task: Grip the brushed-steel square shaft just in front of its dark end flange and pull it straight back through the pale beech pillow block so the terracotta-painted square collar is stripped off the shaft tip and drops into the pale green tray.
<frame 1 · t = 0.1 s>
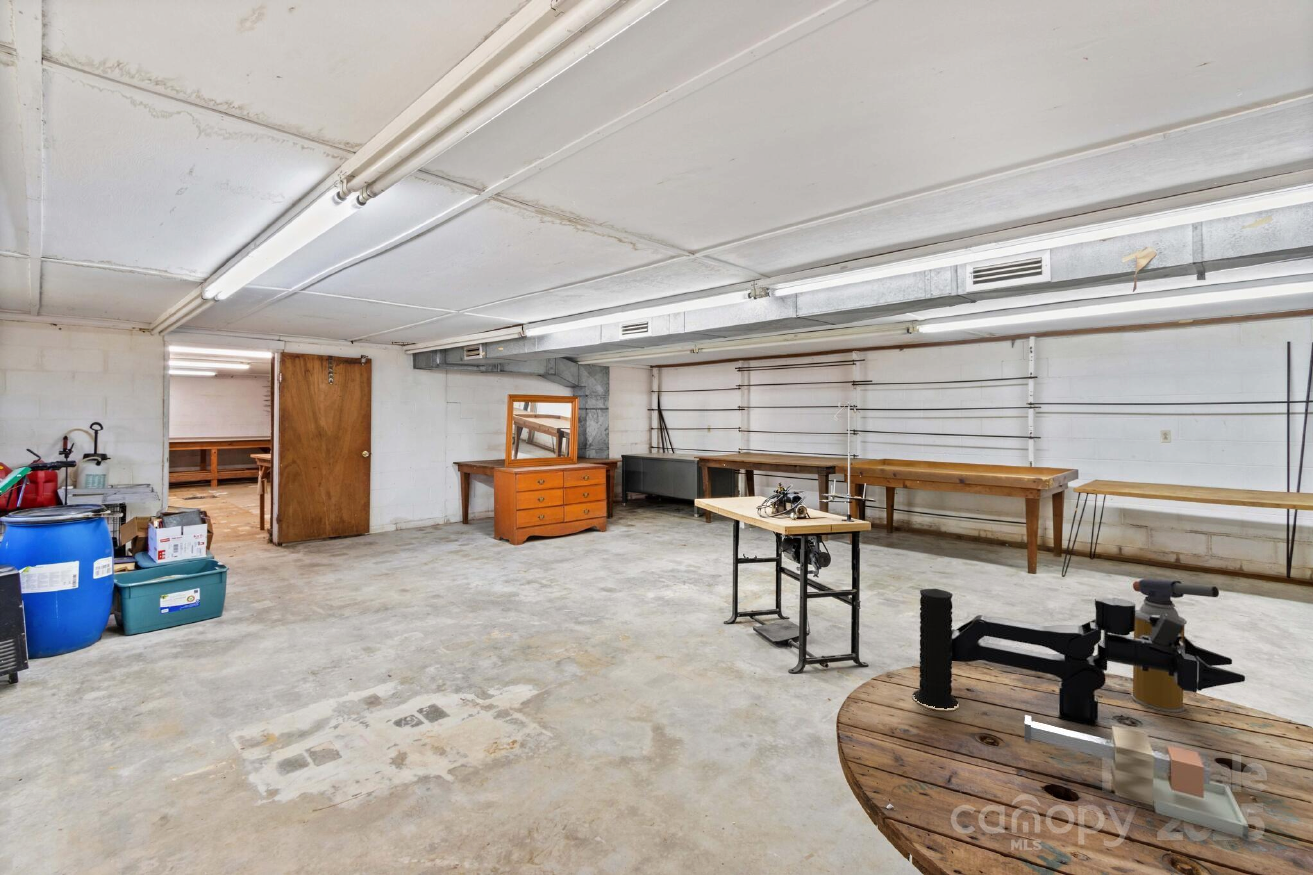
hand: (1238, 669, 112), 17 cm above the table, tool horizontal, fingers open, 9 cm apart
shaft: (1110, 749, 104), point 6 cm above the table, slide at 0.0 cm, touching collar
blowtorch: (1171, 709, 130), on the table
collar: (1184, 785, 98), point 3 cm above the table, touching shaft
tray: (1191, 804, 98), on the table
handle grip: (935, 701, 135), on the table
pillow block: (1131, 787, 102), on the table
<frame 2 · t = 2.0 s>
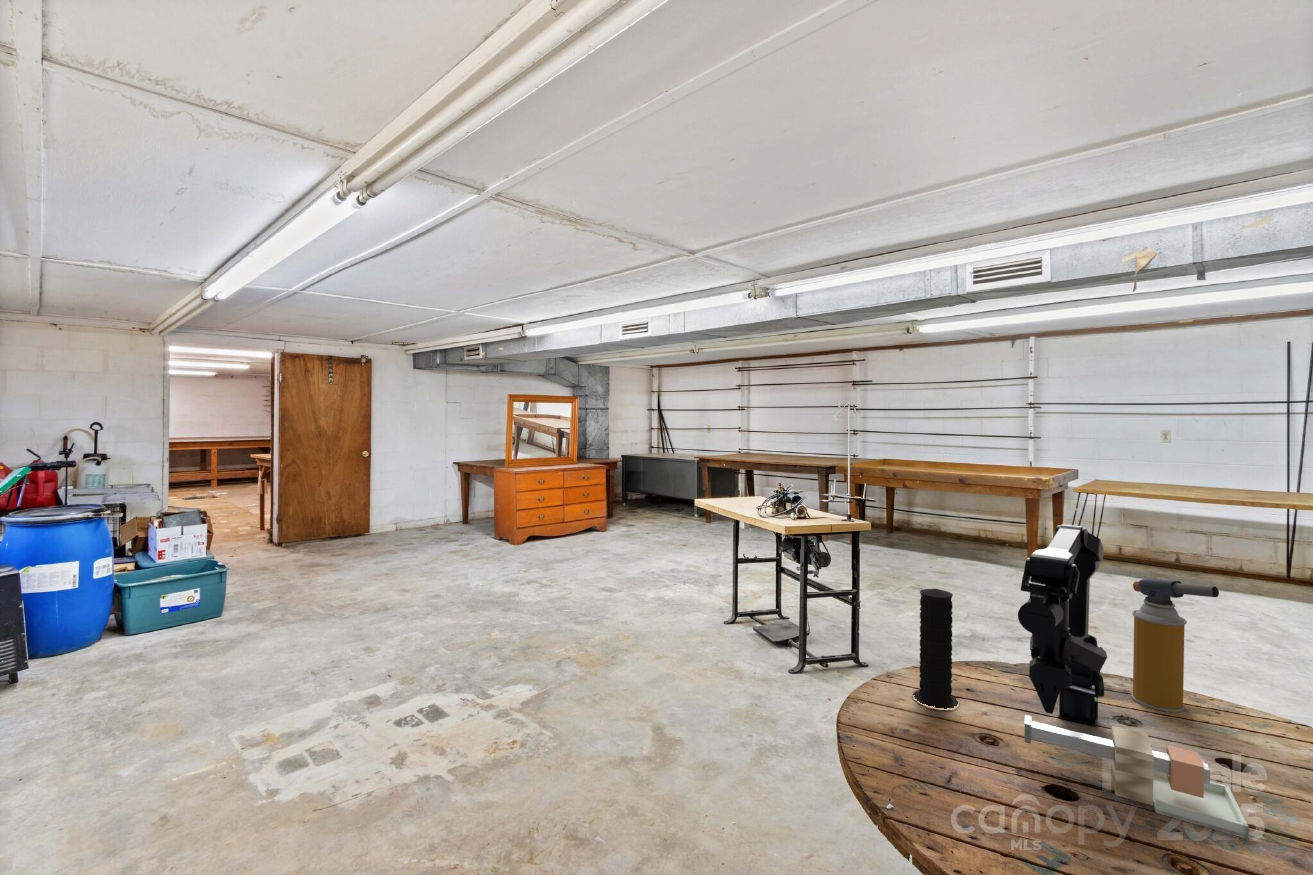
hand: (1048, 702, 109), 12 cm above the table, tool pointing down, fingers open, 9 cm apart
nothing on the table moved.
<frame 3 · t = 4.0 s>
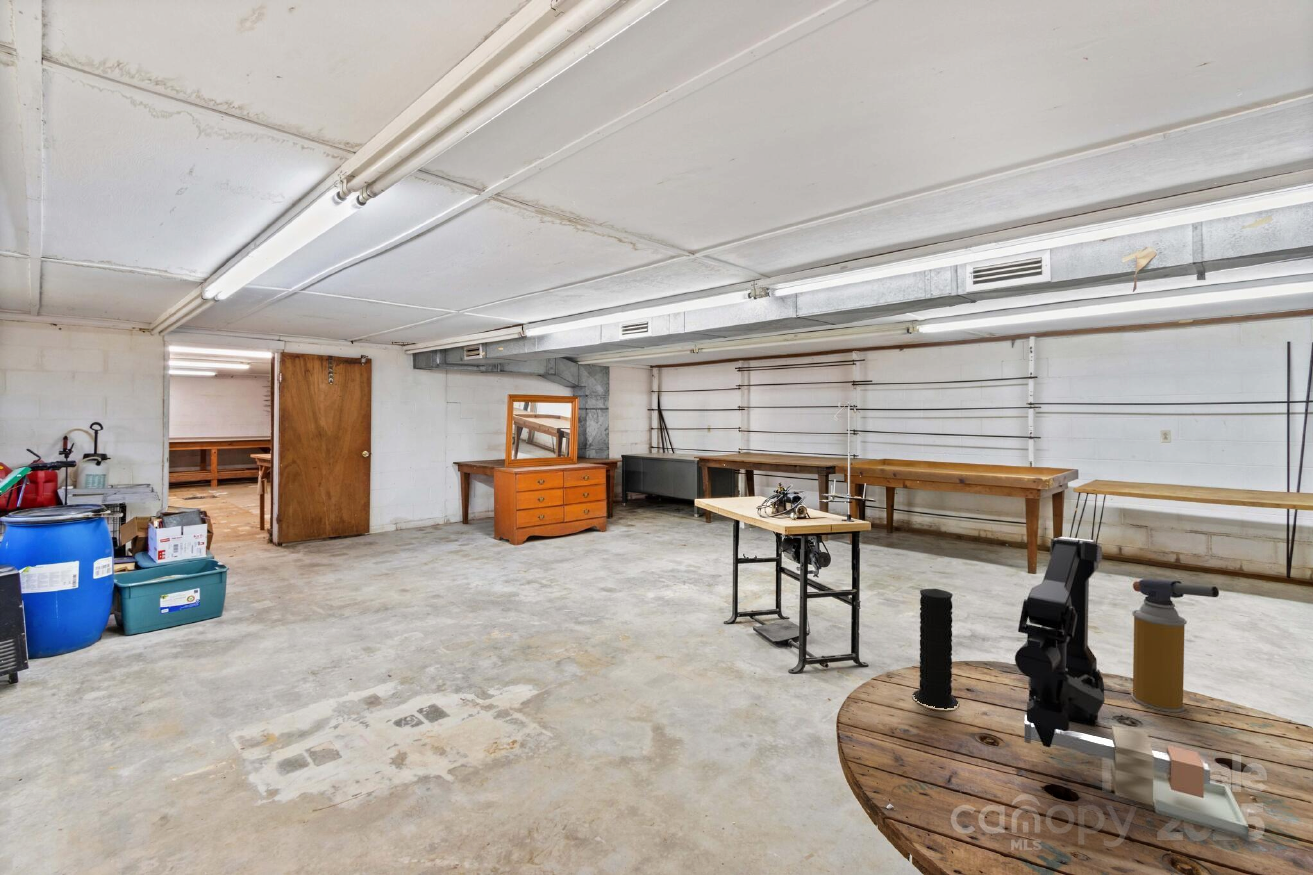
hand: (1046, 743, 109), 4 cm above the table, tool pointing down, fingers closed on shaft, 2 cm apart
shaft: (1110, 749, 104), point 6 cm above the table, slide at 0.0 cm, touching collar, gripper
everything else where it was.
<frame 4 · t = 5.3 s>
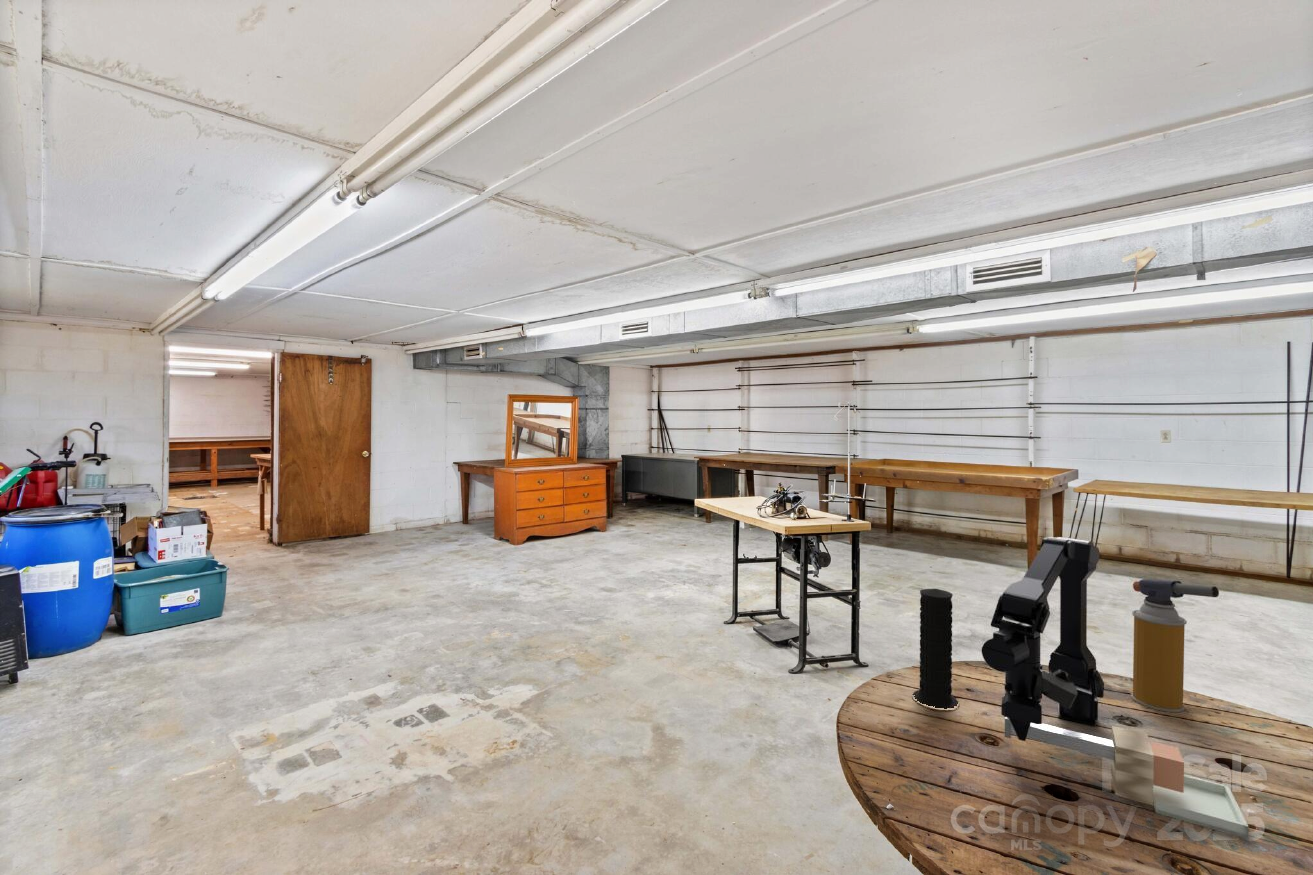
hand: (1022, 736, 111), 4 cm above the table, tool pointing down, fingers closed on shaft, 2 cm apart
shaft: (1087, 743, 106), point 6 cm above the table, slide at 3.3 cm, touching collar, gripper
collar: (1165, 780, 100), point 3 cm above the table, touching shaft
everything else where it was.
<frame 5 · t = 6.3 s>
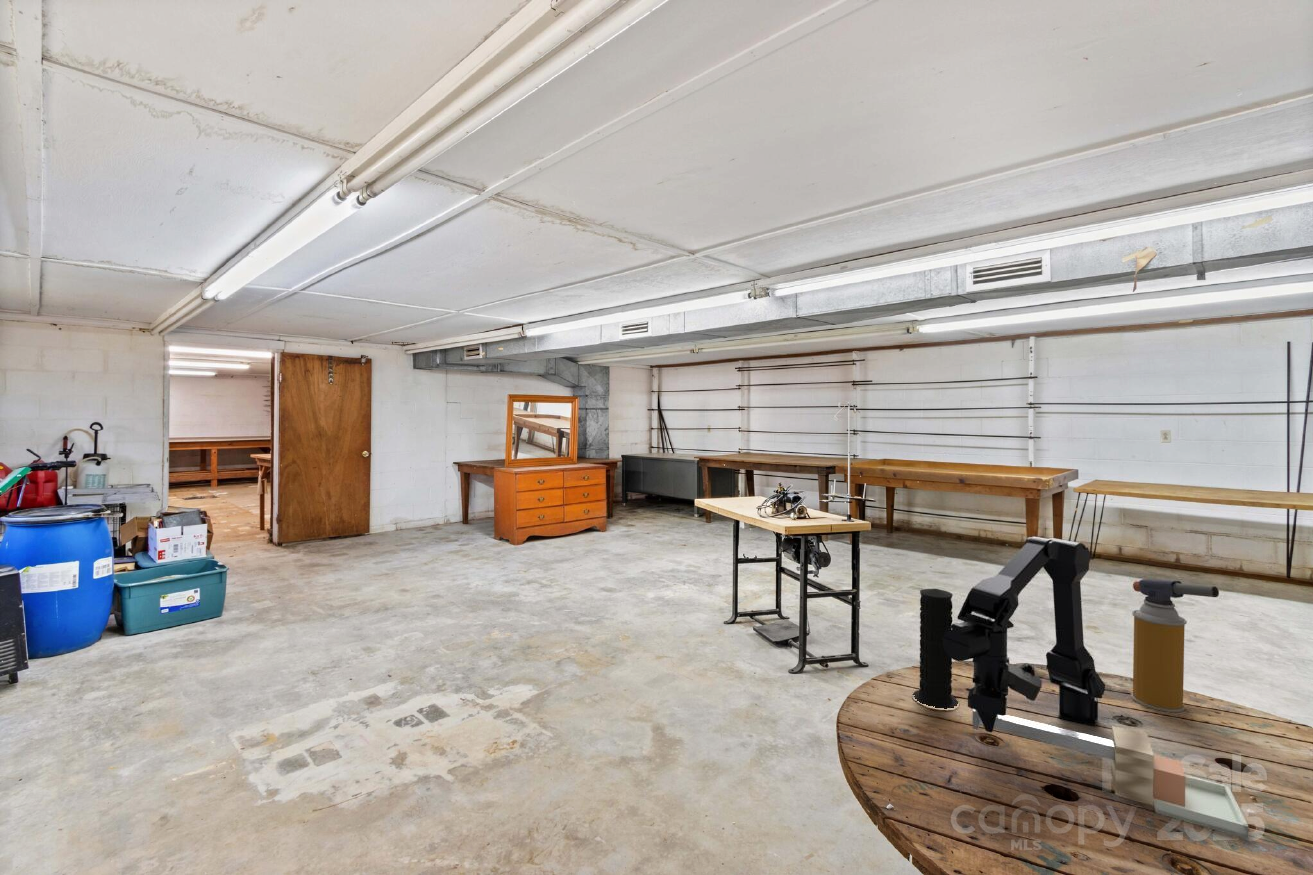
hand: (989, 728, 114), 4 cm above the table, tool pointing down, fingers closed on shaft, 2 cm apart
shaft: (1051, 734, 109), point 6 cm above the table, slide at 8.7 cm, touching gripper
collar: (1166, 794, 100), point 1 cm above the table, touching tray
everything else where it was.
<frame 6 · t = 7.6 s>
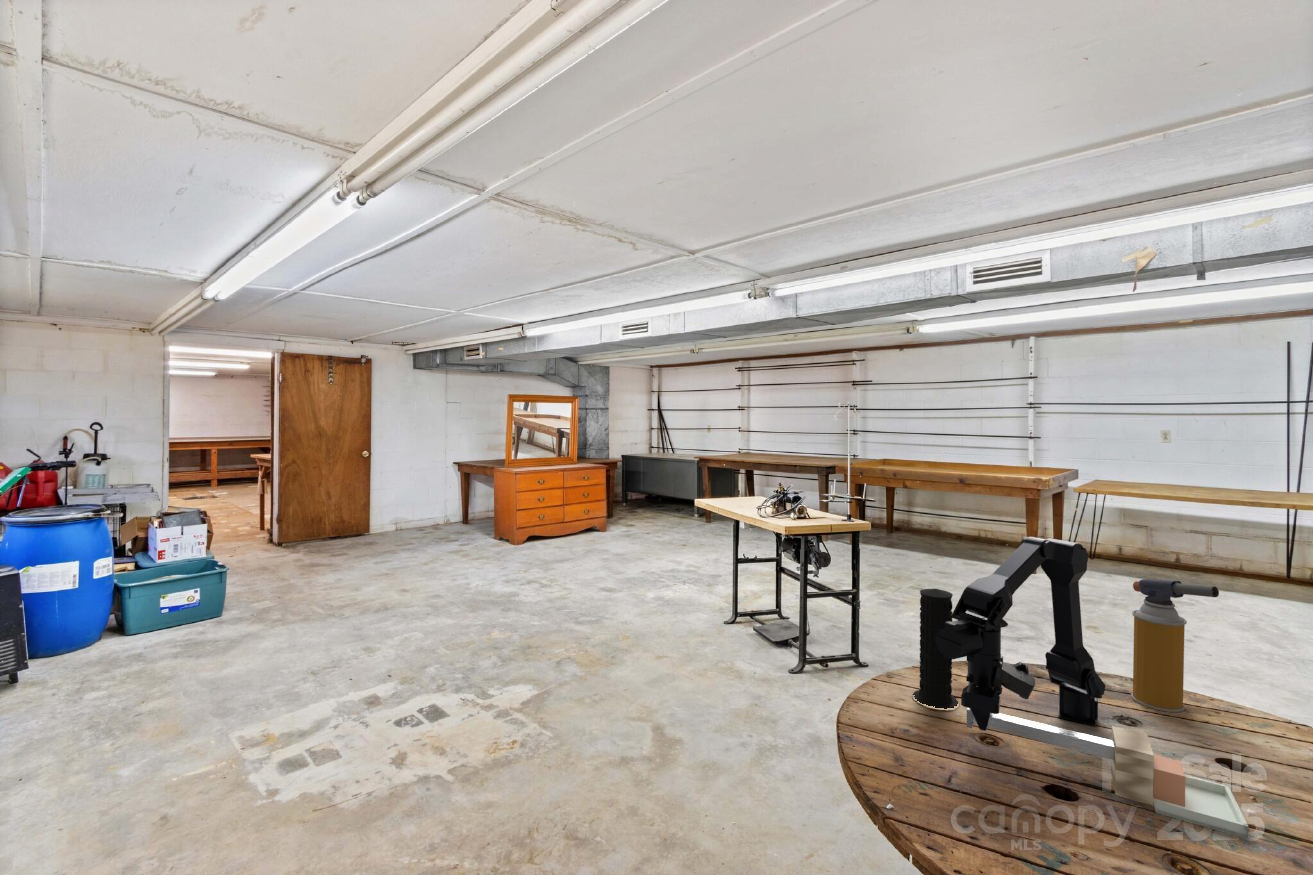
hand: (983, 726, 115), 4 cm above the table, tool pointing down, fingers closed on shaft, 2 cm apart
shaft: (1044, 733, 109), point 6 cm above the table, slide at 9.8 cm, touching gripper
everything else where it was.
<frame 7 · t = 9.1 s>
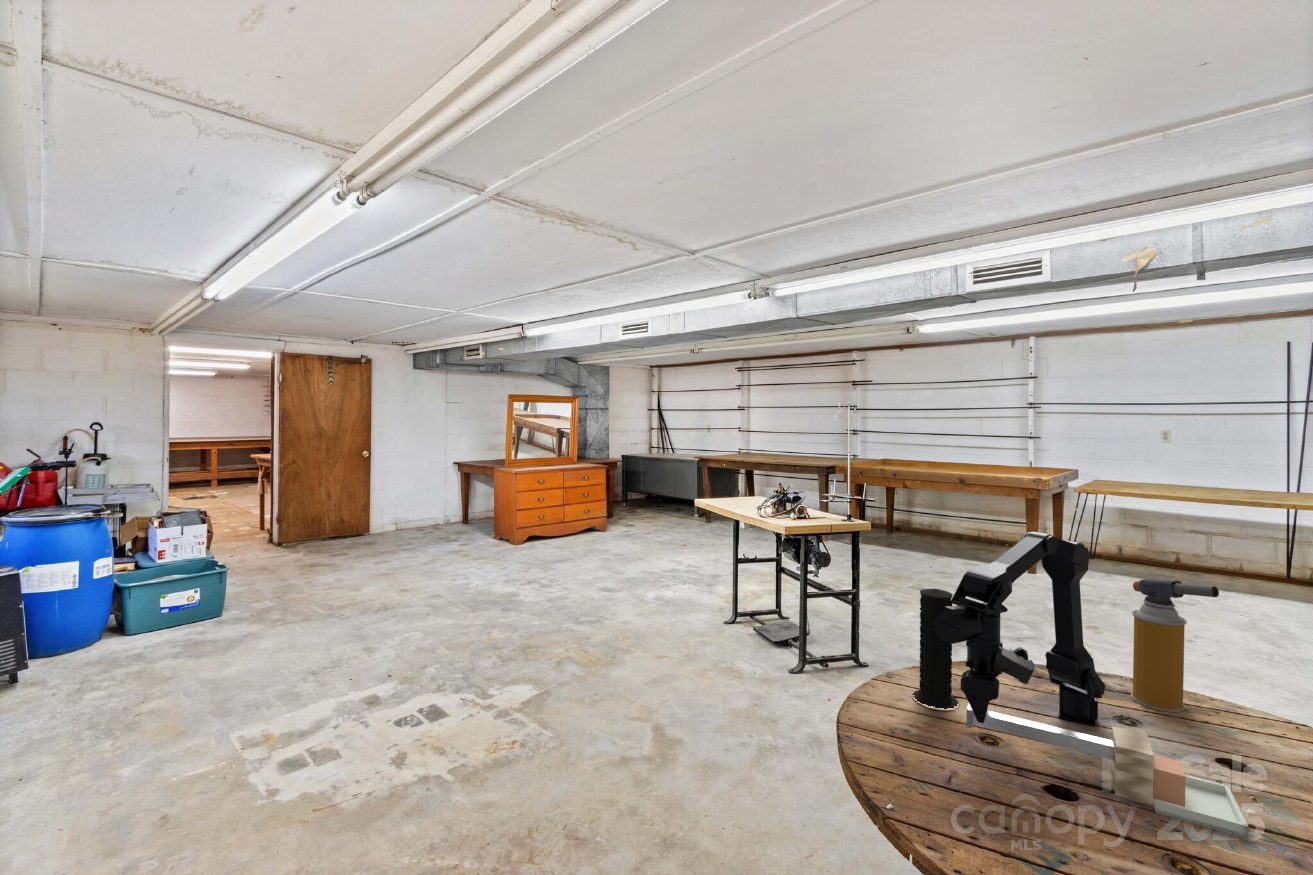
hand: (982, 712, 115), 7 cm above the table, tool pointing down, fingers open, 9 cm apart
shaft: (1044, 733, 109), point 6 cm above the table, slide at 9.8 cm
everything else where it was.
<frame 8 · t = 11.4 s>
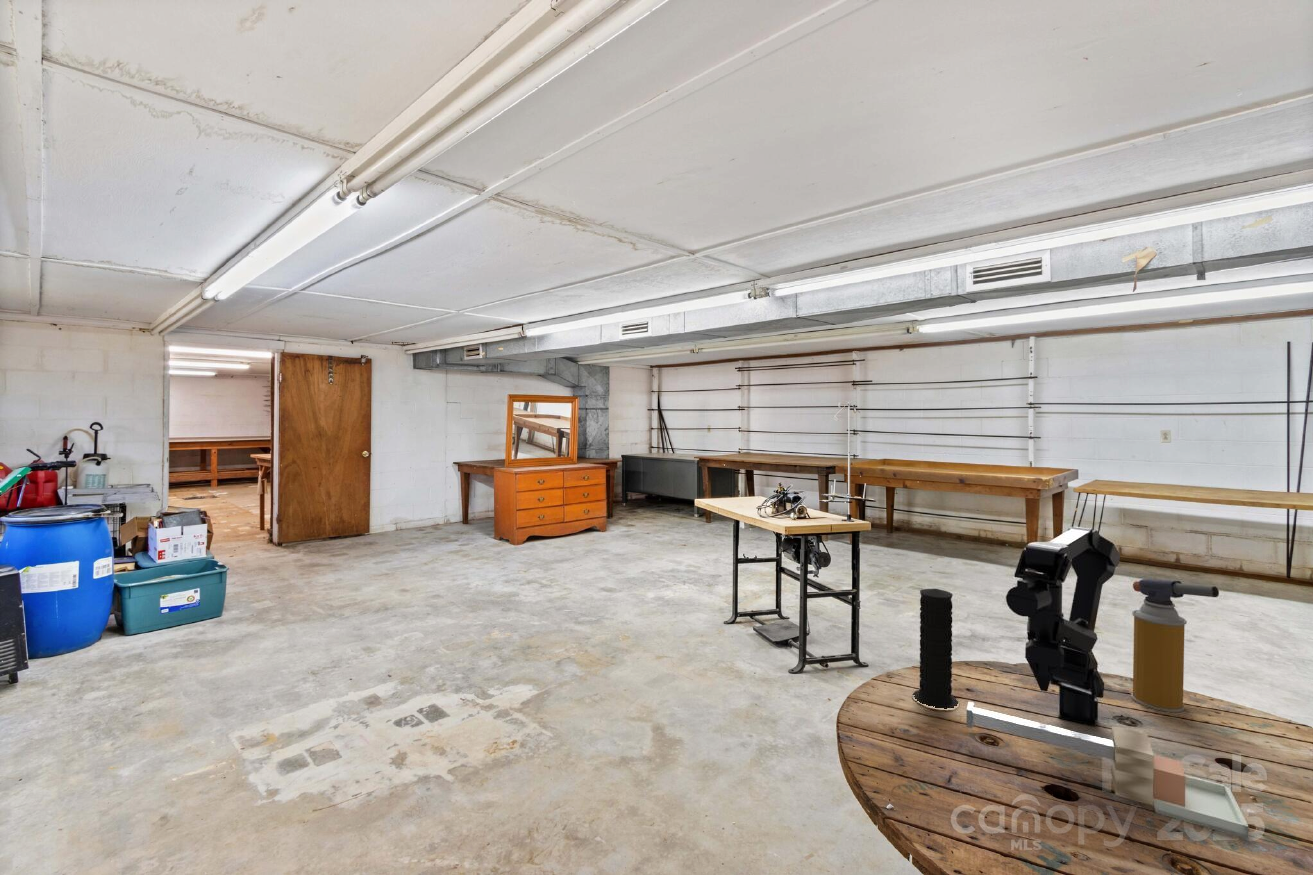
hand: (1043, 681, 117), 12 cm above the table, tool pointing down, fingers open, 9 cm apart
nothing on the table moved.
at the end: collar inside the target area on the tray (3.5 cm from its centre), point 0.6 cm above the tray's base; collar touching tray; shaft slide at 9.8 cm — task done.
